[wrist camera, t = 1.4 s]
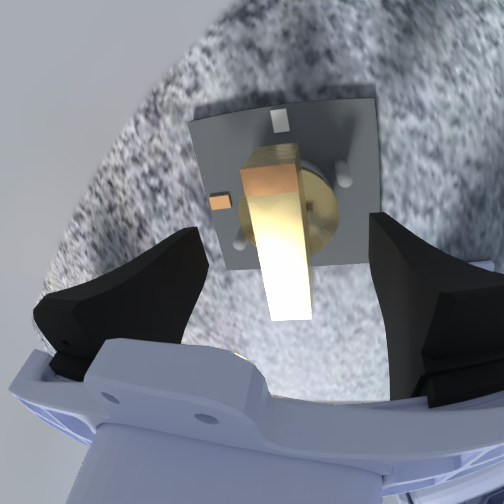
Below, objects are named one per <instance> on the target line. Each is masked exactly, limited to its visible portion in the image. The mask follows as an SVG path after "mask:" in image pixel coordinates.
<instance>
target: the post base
mask: <svg viewBox="0 0 504 504" xmlns="http://www.w3.org/2000/svg"><path fill="white" fill-rule="evenodd" d="M188 126H189V130H190V134H191V138H192V142H193V146H194V150H195V154H196V158H197V162H198V166H199V169H200V173H201V177H202V181H203V185H204V188H205V192H206V196H207V200H208V203H209V207H210V211H211V215H212V218H213V222H214V225H215V229H216V233H217V236H218V240H219V243H220V247H221V251H222V254H223V258H224V261H225V265H226V268H227V270H247V269H262V268H261V263H260V258H259V254H258V249H257V247H255V246H254V245H253V244H252V243H251V242H250V241H249V239H248V238H247V237H246V235H245V234H244V232H243V230H242V228H241V225H240V221H239V211H238V209H239V203H240V199H241V197H242V194H243V192H244V187H243V182H242V178H241V173H240V169H241V167H242V166H243V165H244V164H245V163H246V161H247V160H248V158H249V157H250V156H251V154H252V153H253V152H254V150H255V149H256V148H257V147H264V146H272V145H280V144H289V143H298V147H299V154H300V161H301V166H302V167H305V168H308V169H310V170H312V171H314V172H316V173H317V174H319V175H320V176H321V177H322V178H323V179H325V180H326V182H327V183H328V184H329V185H330V187H331V188H332V190H333V192H334V194H335V196H336V199H337V203H338V209H339V223H338V227H337V230H336V233H335V235H334V237H333V238H332V240H331V241H330V242H329V243H328V244H327V245H326V246H325V247H324V248H323V249H322V250H320V251H319V252H317V253H315V254H313V255H311V256H312V266H326V265H343V264H359V263H369V258H368V250H369V213H376V212H380V170H379V147H378V132H377V120H376V109H375V100H374V98H346V99H329V100H316V101H306V102H296V103H288V104H280V105H272V106H265V107H259V108H253V109H247V110H241V111H235V112H230V113H225V114H220V115H215V116H210V117H206V118H201V119H197V120H193V121H190V122H188Z"/></svg>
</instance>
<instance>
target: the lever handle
mask: <svg viewBox="0 0 504 504" xmlns="http://www.w3.org/2000/svg"><path fill="white" fill-rule="evenodd" d="M240 173H241V178H242V182H243V187H244V192H243V194H242V197H241V199H240V203H239V209H238V211H239V221H240V225H241V228H242V230H243V232H244V234H245V235H246V237H247V238H248V239H249V241H250V242H251V243H252V244H253V245H254V246H255V247H257V249H258V254H259V258H260V263H261V268H262V273H263V278H264V283H265V287H266V292H267V297H268V302H269V307H270V312H271V317H272V320H294V319H312V298H313V268H312V256H311V255H313V254H315V253H317V252H319V251H320V250H322V249H323V248H324V247H325V246H326V245H327V244H328V243H329V242H330V241H331V240H332V238H333V237H334V235H335V233H336V230H337V227H338V223H339V209H338V203H337V199H336V196H335V194H334V192H333V190H332V188H331V187H330V185H329V184H328V183H327V182H326V180H325V179H323V178H322V177H321V176H320V175H319V174H317V173H316V172H314V171H312V170H310V169H308V168H305V167H302V166H301V161H300V154H299V147H298V143H289V144H280V145H272V146H264V147H257V148H256V149H255V150H254V152H253V153H252V154H251V156H250V157H249V158H248V160H247V161H246V163H245V164H244V165H243V166H242V167H241V169H240Z"/></svg>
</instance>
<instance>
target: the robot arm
mask: <svg viewBox="0 0 504 504" xmlns="http://www.w3.org/2000/svg"><path fill="white" fill-rule="evenodd" d="M368 258H369V264H370V270H371V276H372V279H373V283H374V286H375V290H376V294H377V297H378V301H379V304H380V308H381V312H382V315H383V319H384V324H385V330H386V339H387V348H388V359H389V375H390V401H384V402H374V403H362V404H346V405H333V404H325V403H318V402H311V401H305V400H299V399H293V398H287V397H281V396H276V395H271V394H270V392H269V391H268V387H267V384H266V381H265V377H264V376H263V375H262V374H261V372H260V371H259V370H258V369H257V367H256V366H255V365H254V364H253V363H252V362H251V361H249V360H248V359H246V358H244V357H242V356H240V355H238V354H236V353H234V352H233V351H230V350H225V349H220V348H215V347H210V346H200V345H185V344H181V340H182V337H183V334H184V330H185V328H186V325H187V322H188V320H189V318H190V315H191V313H192V311H193V309H194V306H195V304H196V302H197V300H198V297H199V295H200V293H201V290H202V288H203V286H204V283H205V280H206V276H207V272H208V268H209V263H208V260H207V257H206V254H205V251H204V247H203V244H202V241H201V238H200V235H199V231H198V228H197V227H189V228H183V229H181V230H179V231H177V232H176V233H174V234H172V235H171V236H169V237H167V238H166V239H164V240H163V241H161V242H160V243H158V244H157V245H155V246H154V247H152V248H151V249H149V250H147V251H146V252H144V253H143V254H141V255H140V256H138V257H136V258H135V259H133V260H132V261H130V262H128V263H126V264H125V265H123V266H121V267H119V268H117V269H115V270H113V271H111V272H109V273H107V274H105V275H102V276H100V277H98V278H96V279H93V280H91V281H88V282H86V283H83V284H80V285H77V286H74V287H71V288H68V289H64V290H60V291H57V292H53V293H49V294H47V295H45V296H44V297H43V299H42V300H41V301H40V302H39V303H38V305H37V306H36V307H35V308H34V310H33V316H34V320H35V322H36V324H37V326H38V328H39V329H40V331H41V332H42V333H43V335H44V336H45V337H46V339H47V340H48V341H49V343H50V344H51V345H52V346H53V348H54V349H55V350H56V351H57V353H56V354H55V356H54V357H53V356H52V355H50V354H49V353H46V352H43V351H40V350H37V349H34V351H33V352H32V353H31V355H30V356H29V358H28V359H27V361H26V362H25V364H24V365H23V367H22V368H21V370H20V371H19V373H18V374H17V376H16V377H15V379H14V380H13V382H12V384H11V385H10V387H9V391H10V392H11V393H12V394H13V395H14V396H15V397H16V398H17V399H18V400H19V401H20V402H21V403H22V404H23V405H24V406H26V407H27V408H28V409H29V410H30V411H31V412H32V413H34V414H35V415H36V416H37V417H38V418H40V419H41V420H42V421H43V422H45V423H46V424H48V425H50V426H51V427H53V428H55V429H56V430H58V431H60V432H62V433H64V434H66V435H67V436H69V437H71V438H72V439H74V440H76V441H78V442H80V443H82V444H83V445H85V446H87V447H89V450H88V452H87V454H86V456H85V459H84V461H83V463H82V466H81V468H80V470H79V472H78V475H77V477H76V479H75V482H74V484H73V487H72V489H71V492H70V494H69V496H68V499H67V502H66V504H382V497H386V496H392V495H396V497H397V499H398V501H399V503H400V504H504V274H501V273H497V272H493V271H494V268H495V265H494V263H493V262H492V261H480V262H469V263H466V262H464V261H462V260H459V259H457V258H455V257H453V256H451V255H448V254H446V253H445V252H443V251H441V250H439V249H437V248H435V247H434V246H432V245H430V244H428V243H427V242H425V241H424V240H422V239H421V238H419V237H418V236H416V235H415V234H413V233H412V232H411V231H409V230H408V229H406V228H405V227H404V226H402V225H401V224H400V223H398V222H397V221H396V220H394V219H393V218H392V217H390V216H389V215H388V214H386V213H384V212H376V213H369V250H368Z"/></svg>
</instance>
